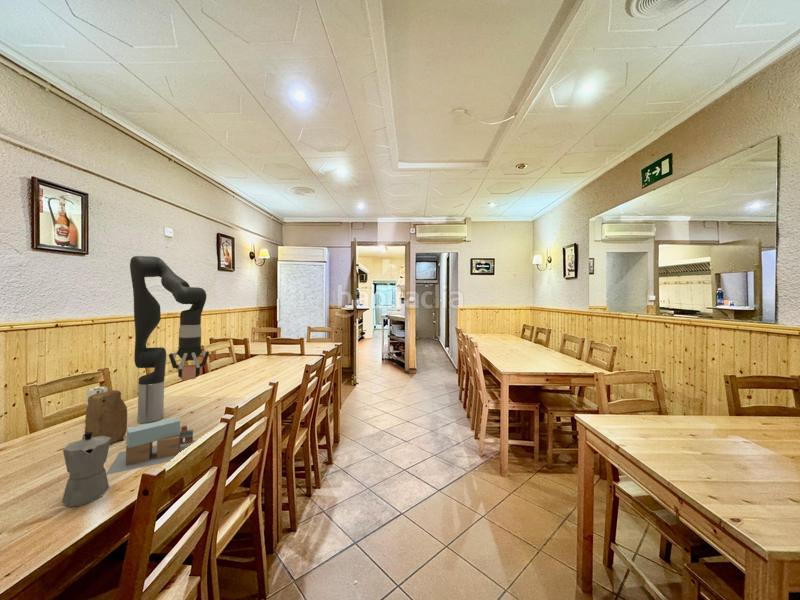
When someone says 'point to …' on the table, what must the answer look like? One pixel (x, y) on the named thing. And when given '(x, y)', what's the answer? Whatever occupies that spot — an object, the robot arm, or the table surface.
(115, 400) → the block
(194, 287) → the robot arm
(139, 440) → the lintel
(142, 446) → the base cube
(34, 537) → the table surface
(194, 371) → the terracotta cube
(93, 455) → the coffeepot
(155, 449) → the grey flat sheet
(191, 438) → the model
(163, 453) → the base cube
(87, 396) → the beer glass
